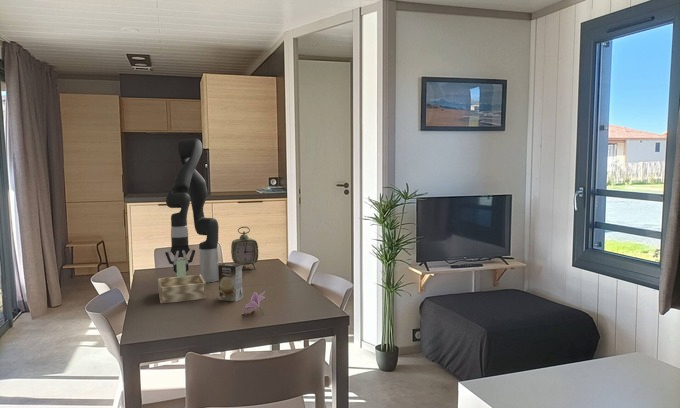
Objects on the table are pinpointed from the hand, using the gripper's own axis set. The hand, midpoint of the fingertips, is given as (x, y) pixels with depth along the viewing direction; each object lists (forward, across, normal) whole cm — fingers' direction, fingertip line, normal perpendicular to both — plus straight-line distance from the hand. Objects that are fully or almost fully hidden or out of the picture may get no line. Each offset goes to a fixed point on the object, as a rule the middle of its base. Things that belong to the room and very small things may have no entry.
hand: (181, 271), depth 237 cm
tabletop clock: (+11, -39, -47) cm, 62 cm away
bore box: (+11, 0, 0) cm, 11 cm away
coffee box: (+12, -20, +16) cm, 28 cm away
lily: (+12, -26, +42) cm, 51 cm away
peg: (+2, 0, 0) cm, 2 cm away
